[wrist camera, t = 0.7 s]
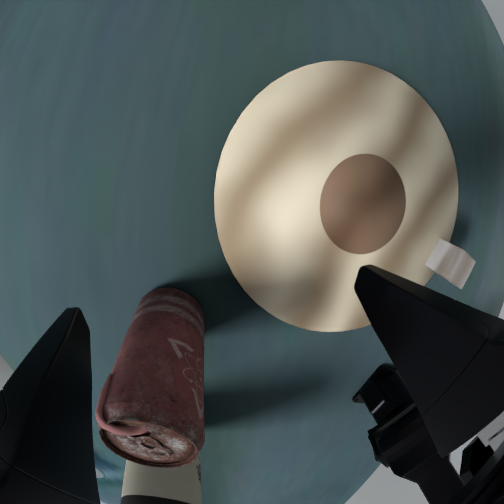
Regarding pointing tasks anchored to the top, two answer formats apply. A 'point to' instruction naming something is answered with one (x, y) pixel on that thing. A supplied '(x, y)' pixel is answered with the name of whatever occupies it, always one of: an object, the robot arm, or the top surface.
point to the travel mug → (162, 484)
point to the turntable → (336, 193)
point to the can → (157, 384)
